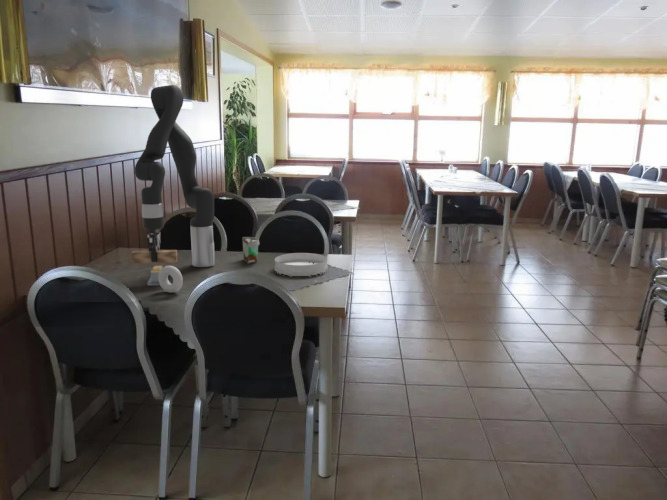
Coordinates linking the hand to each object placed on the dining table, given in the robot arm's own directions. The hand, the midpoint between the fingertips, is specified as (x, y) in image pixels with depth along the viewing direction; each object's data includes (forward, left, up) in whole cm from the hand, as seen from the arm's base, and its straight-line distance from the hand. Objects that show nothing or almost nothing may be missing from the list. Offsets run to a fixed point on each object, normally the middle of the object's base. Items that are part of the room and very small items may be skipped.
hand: (155, 260), depth 209 cm
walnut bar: (0, 0, 0) cm, 1 cm away
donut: (-7, +14, -9) cm, 18 cm away
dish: (-56, -12, -9) cm, 58 cm away
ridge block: (0, 0, -9) cm, 9 cm away
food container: (-36, -29, -9) cm, 47 cm away
